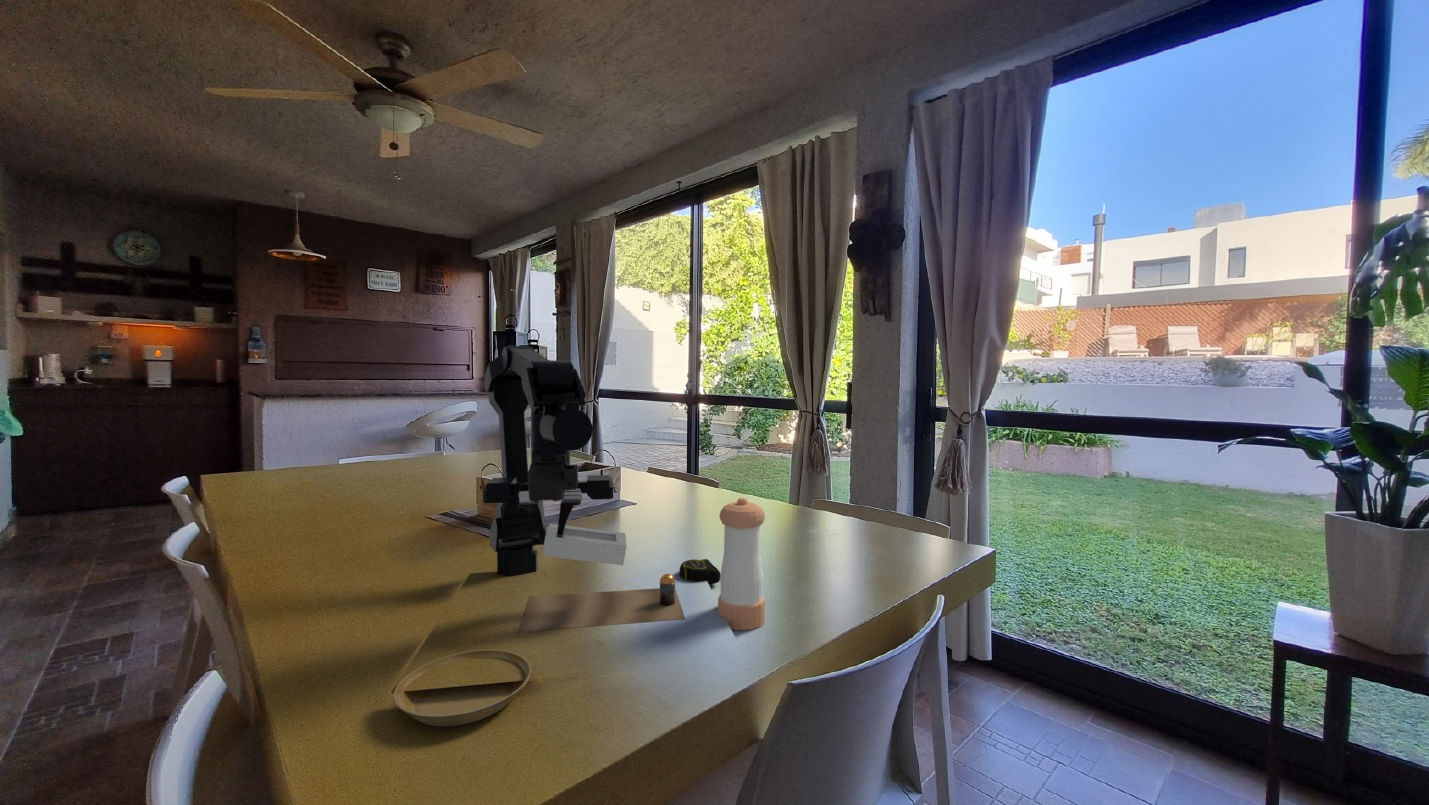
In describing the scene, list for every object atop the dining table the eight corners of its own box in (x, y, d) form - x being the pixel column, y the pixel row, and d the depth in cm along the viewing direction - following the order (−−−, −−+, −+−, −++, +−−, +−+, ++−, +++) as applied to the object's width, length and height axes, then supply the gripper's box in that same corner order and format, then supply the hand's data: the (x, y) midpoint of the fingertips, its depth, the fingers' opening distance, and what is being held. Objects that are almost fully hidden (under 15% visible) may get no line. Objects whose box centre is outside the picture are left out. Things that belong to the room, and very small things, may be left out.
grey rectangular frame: (541, 555, 84) (545, 535, 84) (546, 542, 91) (549, 523, 91) (623, 565, 86) (626, 545, 86) (621, 551, 93) (625, 533, 93)
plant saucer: (385, 692, 69) (385, 671, 69) (510, 656, 78) (509, 638, 77) (404, 759, 57) (404, 733, 57) (549, 708, 66) (549, 686, 66)
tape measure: (721, 588, 103) (721, 568, 102) (684, 592, 101) (684, 571, 100) (710, 575, 109) (710, 556, 109) (675, 579, 107) (675, 559, 107)
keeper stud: (660, 606, 90) (660, 577, 90) (659, 600, 93) (659, 572, 92) (675, 605, 91) (675, 576, 91) (673, 599, 93) (673, 571, 93)
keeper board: (517, 642, 81) (517, 631, 81) (529, 605, 94) (529, 596, 94) (685, 628, 86) (685, 619, 86) (674, 595, 99) (674, 587, 98)
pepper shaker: (757, 633, 84) (758, 505, 83) (711, 626, 87) (711, 501, 86) (769, 614, 91) (771, 495, 90) (726, 607, 94) (727, 492, 93)
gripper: (473, 451, 77) (475, 564, 78) (613, 448, 81) (613, 557, 82) (489, 441, 88) (491, 541, 89) (612, 439, 92) (612, 535, 93)
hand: (551, 544), depth 88 cm, fingers closed on grey rectangular frame, 2 cm apart
